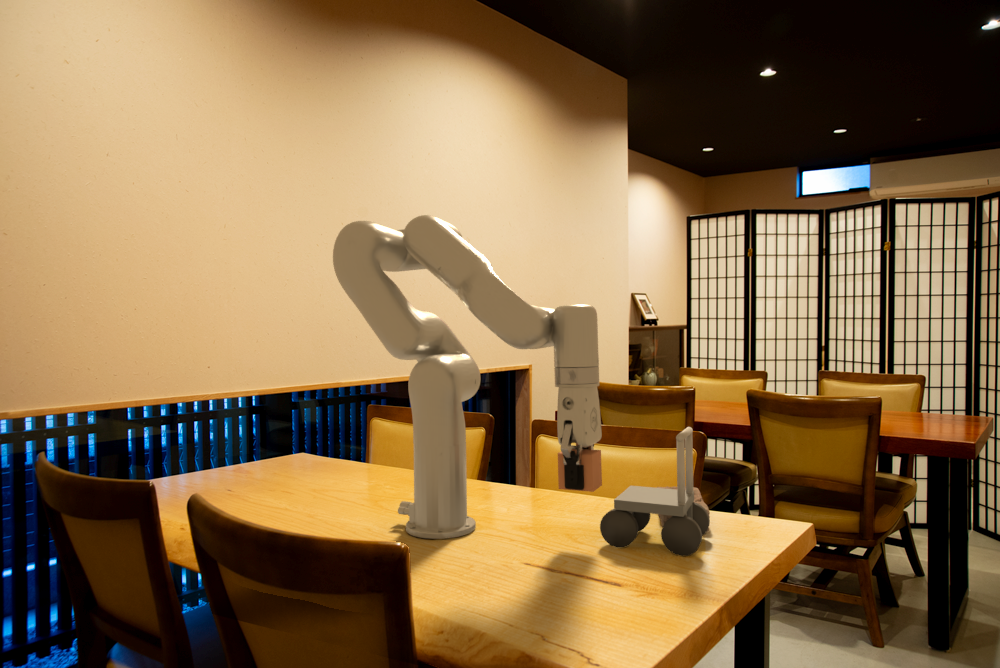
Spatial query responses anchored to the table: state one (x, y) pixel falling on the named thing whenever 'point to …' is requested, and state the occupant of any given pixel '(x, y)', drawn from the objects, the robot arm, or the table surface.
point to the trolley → (661, 509)
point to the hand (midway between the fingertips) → (580, 484)
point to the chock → (591, 470)
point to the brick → (696, 499)
